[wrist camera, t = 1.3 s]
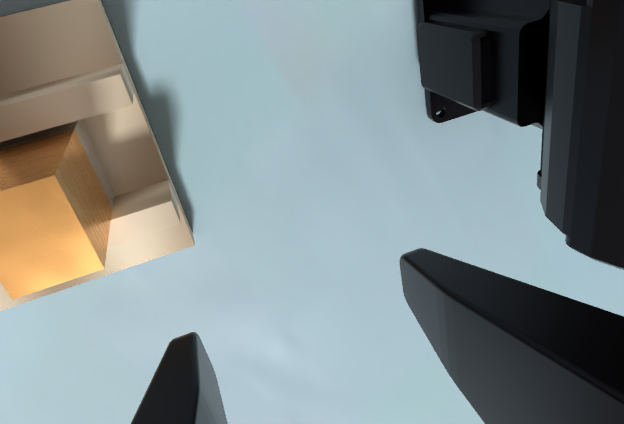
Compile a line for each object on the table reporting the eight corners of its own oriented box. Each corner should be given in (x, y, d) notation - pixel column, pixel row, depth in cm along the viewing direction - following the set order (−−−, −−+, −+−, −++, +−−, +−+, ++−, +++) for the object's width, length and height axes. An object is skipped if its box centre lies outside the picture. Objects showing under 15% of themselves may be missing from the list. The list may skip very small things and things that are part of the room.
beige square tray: (98, -7, 16) (89, -2, 14) (192, 233, 21) (199, 270, 19) (-215, 67, 15) (-291, 89, 12) (-32, 308, 20) (-58, 359, 17)
